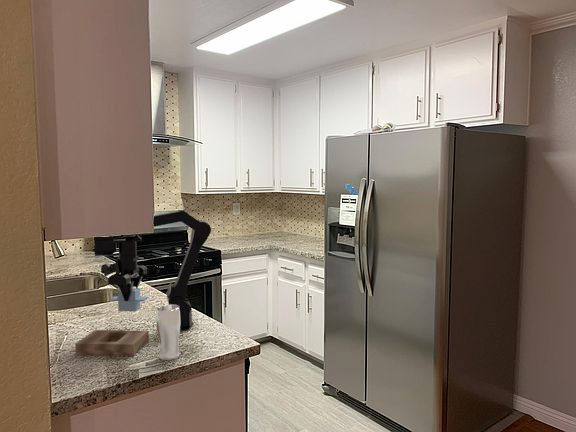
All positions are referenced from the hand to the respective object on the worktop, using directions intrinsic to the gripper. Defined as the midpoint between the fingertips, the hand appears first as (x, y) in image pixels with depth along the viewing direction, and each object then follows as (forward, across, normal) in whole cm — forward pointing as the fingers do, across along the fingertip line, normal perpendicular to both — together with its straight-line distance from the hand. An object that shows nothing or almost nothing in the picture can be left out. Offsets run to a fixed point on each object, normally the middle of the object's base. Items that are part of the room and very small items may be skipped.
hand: (129, 299), depth 149 cm
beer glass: (+12, +19, +20) cm, 30 cm away
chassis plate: (+12, +13, 0) cm, 18 cm away
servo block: (+4, 0, 0) cm, 4 cm away
